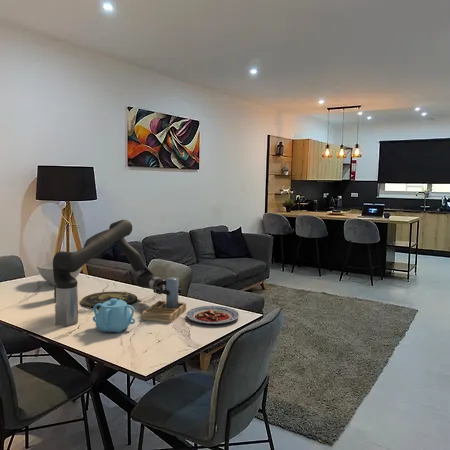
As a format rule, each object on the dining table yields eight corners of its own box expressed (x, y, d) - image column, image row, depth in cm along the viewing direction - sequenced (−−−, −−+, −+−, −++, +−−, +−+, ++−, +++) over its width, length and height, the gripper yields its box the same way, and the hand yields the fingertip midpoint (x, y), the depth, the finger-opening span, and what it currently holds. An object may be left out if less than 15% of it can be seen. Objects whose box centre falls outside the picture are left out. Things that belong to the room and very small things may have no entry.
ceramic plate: (217, 331, 182) (217, 325, 182) (175, 319, 198) (175, 313, 198) (249, 317, 203) (249, 311, 203) (209, 306, 218) (209, 301, 218)
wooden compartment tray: (171, 322, 192) (171, 315, 192) (142, 319, 196) (142, 312, 195) (186, 310, 211) (186, 303, 211) (159, 307, 215) (159, 300, 215)
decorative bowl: (74, 276, 279) (74, 259, 278) (89, 284, 258) (89, 265, 257) (32, 282, 262) (31, 263, 261) (45, 291, 241) (44, 271, 240)
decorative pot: (91, 326, 186) (90, 297, 184) (125, 320, 194) (125, 292, 193) (100, 338, 172) (100, 306, 171) (137, 331, 180) (137, 301, 179)
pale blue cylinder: (175, 310, 204) (175, 280, 202) (164, 308, 205) (164, 279, 203) (179, 306, 209) (180, 277, 208) (169, 305, 211) (169, 276, 209)
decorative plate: (127, 307, 208) (70, 304, 211) (127, 311, 209) (70, 308, 211) (144, 292, 238) (94, 290, 241) (144, 295, 238) (94, 293, 241)
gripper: (146, 279, 213) (162, 287, 200) (170, 276, 222) (187, 283, 208) (146, 293, 214) (162, 302, 200) (170, 289, 222) (187, 297, 209)
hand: (174, 292), depth 204 cm, fingers closed on pale blue cylinder, 6 cm apart
